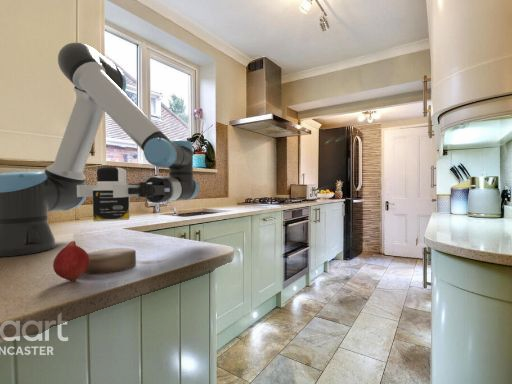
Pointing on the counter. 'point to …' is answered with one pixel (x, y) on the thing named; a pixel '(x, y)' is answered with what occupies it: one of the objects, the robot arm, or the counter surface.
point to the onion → (71, 262)
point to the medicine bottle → (110, 196)
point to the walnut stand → (111, 260)
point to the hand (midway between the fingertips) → (95, 191)
